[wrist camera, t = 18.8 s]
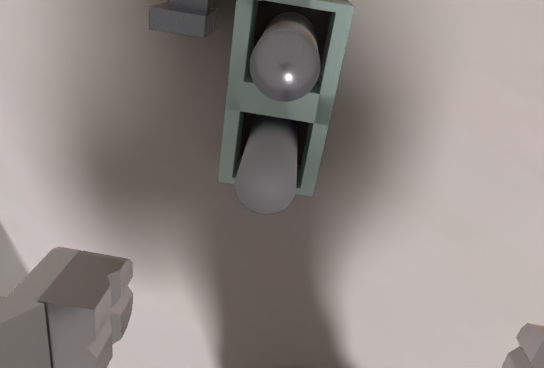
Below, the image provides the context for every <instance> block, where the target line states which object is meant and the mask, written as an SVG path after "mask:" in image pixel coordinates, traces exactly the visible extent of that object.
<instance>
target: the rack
mask: <svg viewBox="0 0 544 368" xmlns="http://www.w3.org/2000/svg"><path fill="white" fill-rule="evenodd" d="M264 1H270V2H276V3H282V4H288V5H294V6H300V7H306V8H312V9H318V10H324V11H330V12H331V16H330V21H329V26H328V31H327V36H326V41H325V46H324V51H323V56H322V61H321V66H320V74H319V77H318V80H317V82H316V84H315V86H314V87H313V88H312V90H311V91H310V92H309V93H308V94H306V95H305V96H303V97H302V98H300V99H297V100H294V101H289V102H281V101H276V100H273V99H270V98H268V97H266V96H265V95H264V94H262V93H261V92H260V91H259V90H258V88H257V87H256V86H255V84H254V82H253V80H252V77H251V74H250V58H251V54H252V50H253V42H254V34H255V26H256V18H257V10H258V2H259V0H236V8H235V17H234V27H233V37H232V46H231V56H230V66H229V76H228V85H227V95H226V105H225V114H224V124H223V134H222V144H221V153H220V163H219V173H218V182H223V183H230V184H234V187H235V193H236V196H237V198H238V199H239V201H240V202H241V203H242V204H243V205H244V206H245V207H246V208H247V209H249V210H251V211H253V212H256V213H259V214H274V213H277V212H280V211H282V210H284V209H285V208H287V207H288V206H289V205H290V204H291V202H292V201H293V199H294V197H295V194H297V195H303V196H310V197H313V194H314V190H315V185H316V181H317V176H318V172H319V167H320V162H321V158H322V153H323V149H324V144H325V140H326V135H327V131H328V126H329V121H330V117H331V112H332V108H333V103H334V99H335V94H336V90H337V85H338V80H339V76H340V71H341V67H342V62H343V58H344V53H345V49H346V44H347V39H348V35H349V30H350V26H351V21H352V17H353V12H354V8H355V6H354V5H352V4H351V3H350V2H349V1H343V0H264ZM245 112H248V113H254V114H260V115H258V116H257V117H256V119H255V120H254V122H253V125H252V128H251V131H250V134H249V138H248V141H247V144H246V147H245V150H244V153H243V156H239V154H240V146H241V138H242V130H243V122H244V114H245ZM295 120H296V121H303V122H309V127H308V132H307V137H306V142H305V147H304V152H303V157H302V163H301V166H298V165H297V148H298V127H297V124H296V122H295Z"/></svg>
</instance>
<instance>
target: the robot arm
mask: <svg viewBox="0 0 544 368" xmlns="http://www.w3.org/2000/svg"><path fill="white" fill-rule="evenodd" d="M132 277H133V263H132V262H131V260H130V259H126V258H121V257H115V256H110V255H104V254H99V253H93V252H88V251H80V250H75V249H69V248H64V247H57V248H54V249H52V250H51V251H50V252H49V253H48V254H47V255H46V256H45V257H44V258H43V259H42V261H41V262H40V263H39V264H38V265H37V266H36V267H35V268H34V269H33V270H32V271H31V272H30V273H29V274H28V275H27V276H26V277H25V279H24V280H23V281H22V282H21V283H20V284H19V285H18V286H17V287H16V288H15V289H14V290H13V291H12V292H11V293H10V294H9V295H8V296H7V297H2V296H0V368H107V366H108V364H109V362H110V360H111V358H112V344H114V343H115V342H117V341H119V340H120V339H122V337H123V335H124V332H125V330H126V328H127V326H128V322H129V319H130V316H131V311H132V304H133V293H132V291H131V290H130V289H129V287H128V284H129V282H130V280H131V279H132ZM516 338H517V341H518V343H519V347H518V348H516V349H514V350H513V351H511V352H509V353H508V354H507V357H506V359H505V361H504V363H503V366H502V368H544V326H543V325H537V324H530V323H527V324H526V325H525V326H523V327H522V328H521V330H520V331H519V333H518V335H517V337H516Z"/></svg>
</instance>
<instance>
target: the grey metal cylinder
mask: <svg viewBox="0 0 544 368" xmlns="http://www.w3.org/2000/svg"><path fill="white" fill-rule="evenodd" d="M250 74H251V77H252V80H253V82H254V84H255V86H256V87H257V88H258V90H259V91H260V92H261V93H262V94H264V95H265V96H266V97H268V98H270V99H273V100H276V101H281V102H289V101H294V100H297V99H300V98H302V97H303V96H305V95H306V94H308V93H309V92H310V91H311V90H312V88H313V87H314V86H315V84H316V82H317V80H318V77H319V74H320V58H319V52H318V46H317V41H316V35H315V30H314V28H313V26H312V24H311V22H310V21H309V20H308V19H307V18H306V17H305V16H303V15H301V14H299V13H296V12H285V13H281V14H279V15H277V16H276V17H275V18H273V19H272V20H271V22H270V23H269V24H268V26H267V28H266V29H265V31H264V33H263V34H262V36H261V38H260V39H259V41H258V43H257V44H256V46H255V48H254V50H253V52H252V54H251V58H250Z"/></svg>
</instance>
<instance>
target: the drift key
mask: <svg viewBox="0 0 544 368" xmlns="http://www.w3.org/2000/svg"><path fill="white" fill-rule="evenodd" d="M213 7H214V0H168V2H166V3H163V4H159V5H155V6H151V7H150V11H149V29H152V30H158V31H164V32H170V33H176V34H182V35H188V36H194V37H200V38H205V37H206V36H207V35H209V34H210V33H211V32H213V31H214V30H216V29H217V28H218V19H219V9H216V8H213Z"/></svg>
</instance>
